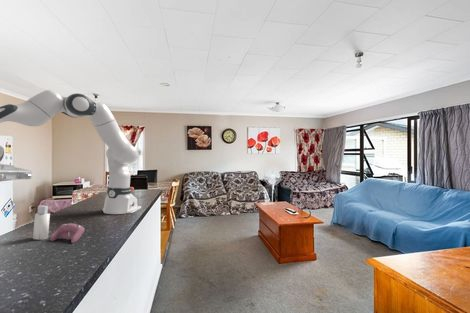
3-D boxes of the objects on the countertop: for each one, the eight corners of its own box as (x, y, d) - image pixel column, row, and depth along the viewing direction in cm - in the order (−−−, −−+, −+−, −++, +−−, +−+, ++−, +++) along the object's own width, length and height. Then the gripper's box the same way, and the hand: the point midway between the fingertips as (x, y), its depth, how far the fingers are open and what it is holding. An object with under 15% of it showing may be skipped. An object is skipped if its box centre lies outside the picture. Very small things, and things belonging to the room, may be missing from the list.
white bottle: (38, 236, 86) (41, 204, 86) (50, 237, 85) (52, 205, 85) (30, 238, 83) (33, 206, 83) (42, 240, 82) (44, 207, 82)
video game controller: (81, 244, 84) (88, 225, 87) (72, 242, 80) (80, 223, 83) (56, 242, 85) (65, 223, 88) (47, 240, 81) (56, 220, 84)
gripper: (-48, 163, 77) (-13, 167, 76) (15, 165, 98) (44, 169, 96) (-52, 181, 77) (-17, 186, 75) (12, 179, 97) (41, 183, 96)
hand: (18, 176), depth 86 cm, fingers open, 8 cm apart
